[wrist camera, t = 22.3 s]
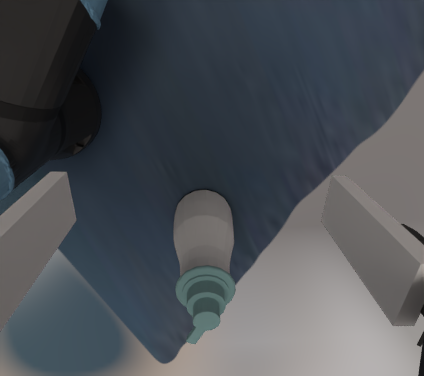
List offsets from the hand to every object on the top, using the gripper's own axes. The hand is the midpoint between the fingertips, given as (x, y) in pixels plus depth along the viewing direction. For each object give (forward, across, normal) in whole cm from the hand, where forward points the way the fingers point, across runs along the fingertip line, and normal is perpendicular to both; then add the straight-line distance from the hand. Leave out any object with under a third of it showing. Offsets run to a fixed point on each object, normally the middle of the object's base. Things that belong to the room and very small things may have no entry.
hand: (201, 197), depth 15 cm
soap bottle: (+32, +1, -20) cm, 38 cm away
